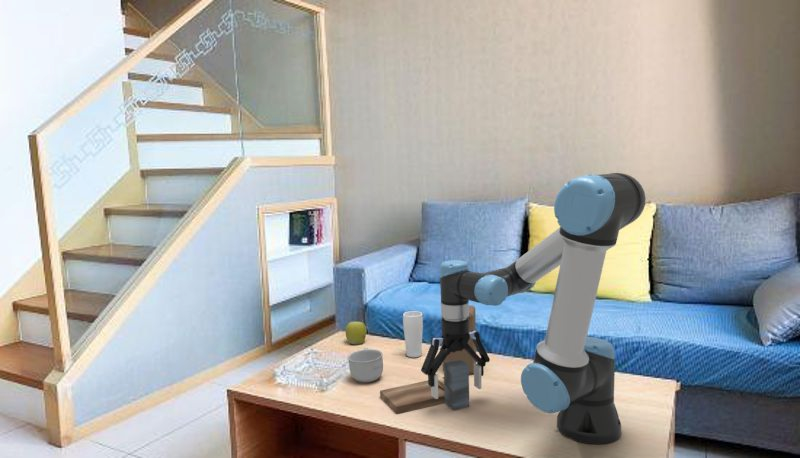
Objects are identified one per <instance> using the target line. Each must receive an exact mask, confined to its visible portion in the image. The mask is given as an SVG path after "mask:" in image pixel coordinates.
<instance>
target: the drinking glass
mask: <svg viewBox="0 0 800 458" xmlns="http://www.w3.org/2000/svg"><path fill="white" fill-rule="evenodd" d="M423 324H424V319H423V312H421V311H418V310H410V311H405V312H404V313H403V314H402V326H403V327H402V328H403V334H404V335H403V336H404V341H405V342H404V343H405V351H406V352H405V354H406V356H407V357H408V358H410V359H411V358H413V359H415V358H419V357H421V356H422V355H423V354H422V353H423V352H422V348H423V347H422V346H423V330H424V329H423V326H424V325H423Z"/></svg>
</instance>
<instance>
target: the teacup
mask: <svg viewBox="0 0 800 458" xmlns="http://www.w3.org/2000/svg"><path fill="white" fill-rule="evenodd" d="M347 360H348V366H349V372H350V376H351V377H352V378H353V379H354V380H355V381H357V382H359V383H365V384H366V383H367V384H368V383H372V382H374V381H376V380H378V379H379V377H380V376H382V374H383V371H384V361H383V360H384V358H383V352H382V351H381V350H379V349H373V348H372V349H371V348H369V347H364V348H363V349H359V350H356V351H354V352H352V353H350V354H349V355H348V356H347Z"/></svg>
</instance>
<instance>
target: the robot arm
mask: <svg viewBox="0 0 800 458" xmlns="http://www.w3.org/2000/svg"><path fill="white" fill-rule="evenodd" d="M646 201H647V200H646V193H645V189H644V187H643V186H642V184H641V183H640V182H639V181H638V180H637V179H636V178H635V177H633V176H631V175H629V174H626V173H622V172H621V173H619V172H612V173H605V174H592V173H591V174H584V175H581V176H579V177H575V178H573V179H570V180H569V181H568V182H566V183H564V185H563V186H562V187H561V188H560V189H559V191H558V193H557V195H556V197H555V200H554V206H553V210H554V212H553V213H554V217H555V218H556V219H557V224H558V226H560V227H558V228H557V229H555V230H554V231H553V232H552V233H550V234H549V235H548V236H547V237H545V238H544V239H542V241H540V242H538V243H537V244H536V245H535V246H533V247H532V248H530V249H529V250H528V251H527V252H526V253H524V254H523V255H521V256H520V257H519V258H517V260H515V261H513V262H512V263H511V264H509V265H508V266H506V267H503V268H499V269H498V268H497V269H495V270H491V271H486V272H477V271H475V272H474V271H471V270H469V264H468V262H467V261H465V260H460V259H456V260H455V259H451V260H450V259H449V260H445V261H443V262H442V263H441V264H440V266H439V267H440V269H439V270H440V271H439V272H440V273H439V283H440V287H439V288H440V314H441V316H440V317H441V319H440V320H441V322H440V324H441V327H440V329H441V337H435V336H433V337H431V338H430V347H429V349H428V351H427V354H426V357H425V359H424V362H423V363H422V366H421V368H420V369H421V370H420V371H421V372H422V373H423V374H424V375H426V376H427V380H428V384H429V386H431V396H433V397H434V398H435V399H438V375H439V374H438V375H437V372H438V370H439V369H440V367H441V365H443V361H444V360H445V358H446V357H447V355H449V354H450V353H451V352H456V351H463V349H465V350H466V351H467V352H468V354H469V355H470V356H471V357H472V358H473V359H474V360H475V361H476V363H475V364H474V373H473V385H474V387H475V388H477V389H479V390H482V386H483V385H482V377H483V376H484V374H485V373H484V372H485V371H484V368H485V366H486V364H487V363H489V362H490V361H491V360H490V357H489V355H488V352H487V350H486V349H485V347H484V345H483V342H482V341H481V338H480V333H479V332H478V331H477V330H476V331H475V330H472V331H471V332H470V333H469V332H468V331H469V319H468V316H469V302H470V301H471V302H475V303H479V304H481V305H484V306H495V307H497V306H500V305H502V304H503V302H504V301H505V300H506V298H507V297H510V296H514V295H517V294H523V293H525V292H528V291H530V290H531V289H533V288H534V287H535V286H536V283H537V282H538V281H539V280H540V279H542V278H543V277H546V275H548V274H549V273H551V272H553V270H555V269H557V268H558V267H559V269H558V274H557V280H556V283H555V289H554V294H553V298H552V305H551V309H550V315H549V319H548V323H547V329H546V333H545V338H544V340H543V339H542V340H541V341H540V342H538V343H537V345H536V348H535V352H534V358H533V362H531V363H528V364H527V365H526V366H525V367H524V368H523V370H521V375H520V384H521V388H522V391H523V393H524V394H525V395H526V398H527V400H528V401H529V402H530V403H531V405H533V407H535V408H536V409H538V410H540V411H541V412H544V413H547V414H554V413H555V414H556V413H557V417H556V428H557V430H558V432H559V433H560V434H562V435H563V436H564V437H566V438H568V439H570V440H572V441H575V442H579V443H583V444H589V445H590V444H591V445H606V444H610V443H613V442H616V441H617V440H619V439H620V437H621V435H622V423H621V420H620V418H619V412H618V410H617V407H616V404H615V373H616V372H615V371H616V370H615V369H616V357H615V353H616V352H615V347H614V344H612V343H610V342H609V341H608V340H605V339H601V338H597V337H594V336H593V337H592V336H588V333H589V329H590V325H591V320H592V315H593V311H594V307H595V303H596V298H597V293H598V289H599V286H600V280H601V277H602V276H601V275H602V272H603V268H604V263H605V259H606V254H607V251H608V250H609V249H612V248H614V247H615V246H617V241H618V238H619V231H620V230H622V229H624V228H625V227H627V226H628V225H630V224H632V223H634V222H635V221H636V220H637V219H638V218H640V216H641V215H642V214H643V211H644V209H645V207H646ZM442 317H443V318H442ZM470 338H471V339H472V340H473V342H474V344H475V346H476V351H477V352H478V353H477V352H476V353H475V352H474V350H473V349H472V348H471V347H470V346H469V344H468V341H469V339H470ZM442 344H443V345H442ZM445 349H447V350H445ZM478 354H479V355H478Z"/></svg>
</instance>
